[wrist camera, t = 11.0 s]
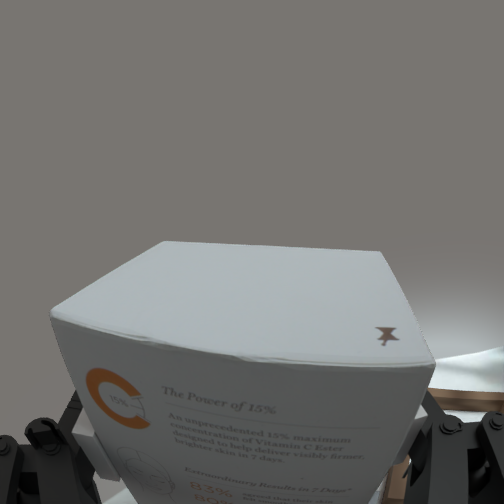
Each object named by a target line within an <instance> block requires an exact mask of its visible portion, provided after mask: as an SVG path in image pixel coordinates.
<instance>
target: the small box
mask: <svg viewBox="0 0 504 504" xmlns="http://www.w3.org/2000/svg"><path fill="white" fill-rule="evenodd" d="M49 317H50V320H51V323H52V327H53V330H54V333H55V336H56V339H57V342H58V345H59V347H60V351H61V353H62V356H63V359H64V361H65V364H66V367H67V369H68V372H69V374H70V377H71V379H72V381H73V384H74V386H75V388H76V391H77V394H78V396H79V398H80V401H81V403H82V405H83V407H84V410H85V412H86V414H87V416H88V418H89V420H90V422H91V424H92V426H93V428H94V430H95V432H96V434H97V436H98V438H99V440H100V442H101V444H102V446H103V448H104V449H105V451H106V453H107V455H108V457H109V458H110V460H111V462H112V463H113V465H114V467H115V469H116V470H117V472H118V473H119V475H120V477H121V478H122V480H123V481H124V483H125V484H126V486H127V488H128V489H129V491H130V492H131V494H132V495H133V497H134V498H135V500H136V501H137V503H138V504H368V503H369V501H370V500H371V498H372V497H373V495H374V493H375V492H376V490H377V488H378V487H379V485H380V483H381V482H382V480H383V478H384V477H385V475H386V473H387V472H388V470H389V468H390V466H391V465H392V463H393V461H394V459H395V457H396V455H397V454H398V452H399V450H400V448H401V446H402V444H403V442H404V440H405V438H406V436H407V434H408V432H409V430H410V427H411V425H412V423H413V421H414V419H415V417H416V414H417V412H418V410H419V408H420V405H421V403H422V401H423V398H424V396H425V393H426V391H427V388H428V386H429V383H430V380H431V378H432V375H433V372H434V369H435V367H436V362H435V360H434V358H433V356H432V354H431V352H430V350H429V348H428V346H427V343H426V341H425V339H424V336H423V334H422V332H421V329H420V327H419V325H418V322H417V320H416V318H415V316H414V314H413V311H412V309H411V307H410V305H409V303H408V301H407V299H406V297H405V295H404V293H403V291H402V289H401V287H400V286H399V284H398V282H397V280H396V278H395V276H394V275H393V273H392V271H391V269H390V267H389V265H388V264H387V262H386V260H385V259H384V257H383V255H382V253H381V252H379V251H358V250H339V249H319V248H299V247H278V246H260V245H236V244H217V243H193V242H174V241H164V242H161V243H159V244H158V245H156V246H154V247H152V248H151V249H149V250H147V251H146V252H144V253H143V254H141V255H139V256H137V257H135V258H134V259H132V260H130V261H129V262H127V263H125V264H123V265H122V266H120V267H118V268H117V269H115V270H113V271H112V272H110V273H108V274H107V275H105V276H103V277H102V278H100V279H98V280H97V281H96V282H94V283H92V284H90V285H89V286H87V287H86V288H84V289H82V290H81V291H79V292H78V293H76V294H74V295H73V296H71V297H70V298H68V299H67V300H65V301H64V302H62V303H60V304H58V305H57V306H55V307H53V309H52V310H51V311H50V312H49Z"/></svg>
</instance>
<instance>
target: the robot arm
mask: <svg viewBox="0 0 504 504" xmlns="http://www.w3.org/2000/svg"><path fill="white" fill-rule="evenodd" d="M24 434H25V436H26V437H27V439H28V440H29V442H30V443H31V445H19V444H18V443H17V441H16V440H15V439H14V438H13V437H12V436H8V435H1V436H0V504H102V503H101V500H100V496H99V493H98V490H97V487H96V484H95V482H94V480H93V475H94V472H95V471H96V472H97V474H98V475H99V477H100V478H102V479H107V480H112V481H118V482H119V481H120V478H121V477H120V475H119V473H118V472H117V470H116V469H115V467H114V465H113V463H112V462H111V460H110V458H109V457H108V455H107V453H106V451H105V449H104V448H103V446H102V444H101V442H100V440H99V438H98V436H97V434H96V432H95V430H94V428H93V426H92V424H91V422H90V420H89V418H88V416H87V414H86V412H85V410H84V407H83V405H82V403H81V401H80V398H79V396H78V394H77V391H76V390H75V392H74V394H73V396H72V398H71V401H70V402H69V404H68V405H67V408H66V409H65V411H64V413H63V415H62V417H61V419H60V421H59V423H58V424H57V423H56V422H55V421H54V420H53V419H50V418H38V419H35V420H33V421H32V422H31V423H29V424H28V426H27V427H26V429H25V433H24ZM407 455H409V457H410V459H411V463H410V464H409V466H408V468H407V469H406V471H405V472H404V474H403V477H402V478H405V477H406V475H407V474H408V475H407V482H406V489H405V496H404V501H403V504H504V414H503V413H501V412H498V411H490V412H488V413H486V414H485V415H484V416H483V418H482V420H481V422H470V423H463V422H462V421H461V420H460V419H459V418H457V417H456V416H453V415H446V414H445V413H444V412H443V410H442V409H441V407H440V406H439V404H438V403H437V402H436V400H435V399H434V397H433V396H432V395H431V393H430V392H429V391H428V389H427V391H426V393H425V396H424V398H423V401H422V403H421V405H420V408H419V410H418V412H417V414H416V417H415V419H414V421H413V423H412V425H411V427H410V430H409V432H408V434H407V436H406V438H405V440H404V442H403V444H402V446H401V448H400V450H399V452H398V454H397V455H396V457H395V459H394V461H393V463H392V465H391V466H394V465H397V464H400V463H403V462H404V460H405V458H406V456H407Z"/></svg>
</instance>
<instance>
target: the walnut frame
mask: <svg viewBox="0 0 504 504" xmlns="http://www.w3.org/2000/svg"><path fill="white" fill-rule="evenodd" d="M427 389H428V391H429V392H430V393H431V395H432V396H433V397H434V399H435V400H436V402H437V403H438V404H439V406H440V407H441V409H446V410H461V411H487V412H490V411H498V412H501V413H503V414H504V393H503V392H476V391H460V390H447V389H436V388H427ZM409 460H410V457H409V455H407V456H406V458H405V460H404V462H403V463H400V464H397V465H394V466H390V468H389V472H388V477H387V482H386V487H385V492H384V496H383V501H382V504H403V501H404V496H405V489H406V482H407V475H408V474H407V475H406V477H405V478H402V477H403V474H404V472H405V471H406V469H407V468H408V466H409Z"/></svg>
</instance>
